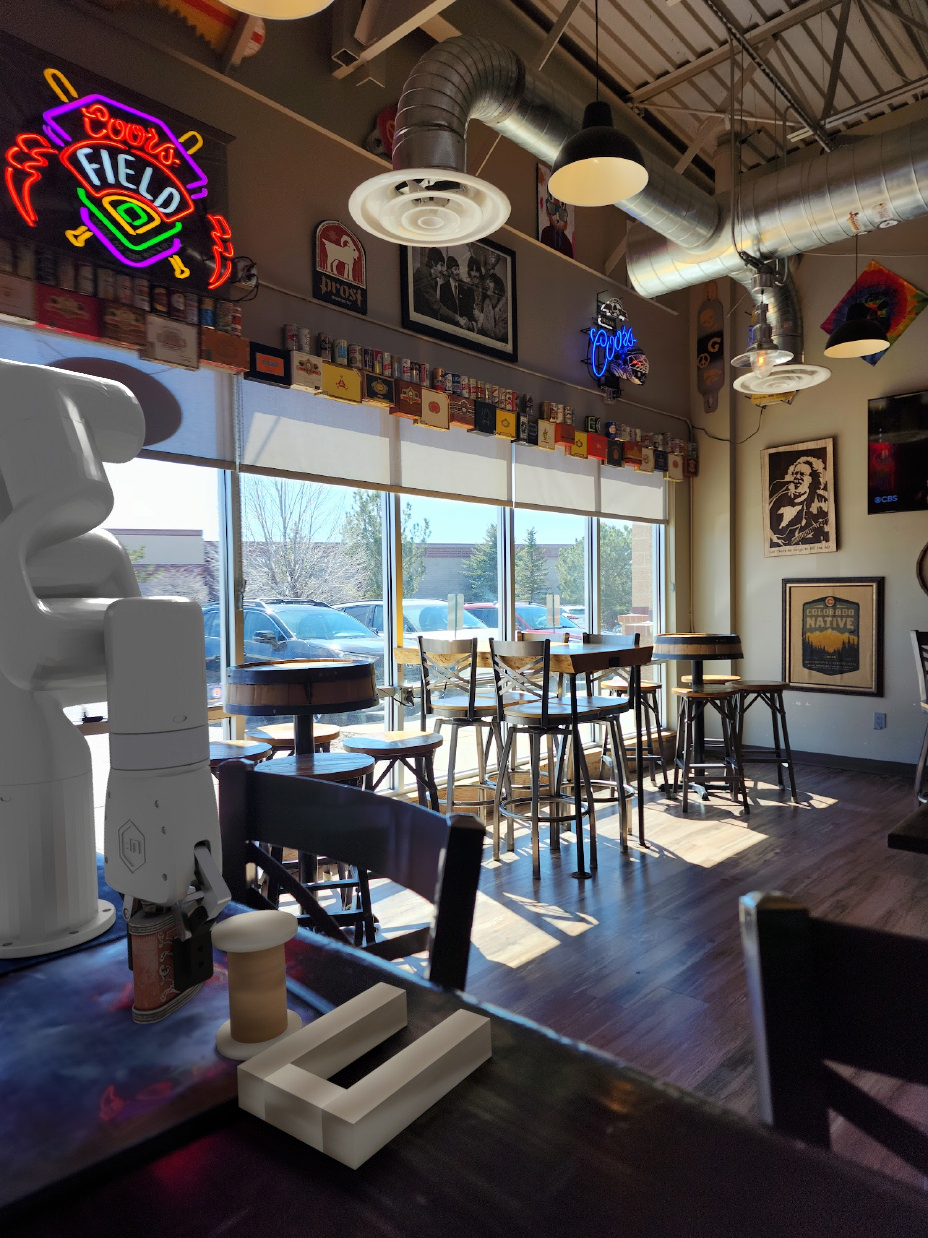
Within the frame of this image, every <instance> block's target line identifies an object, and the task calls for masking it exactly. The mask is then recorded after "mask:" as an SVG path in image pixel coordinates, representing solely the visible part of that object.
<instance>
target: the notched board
mask: <svg viewBox="0 0 928 1238" xmlns="http://www.w3.org/2000/svg"><path fill="white" fill-rule="evenodd" d="M407 1002H408V1001H407V990H406V989H403V988H400V987H397V986H394V985H392V984H388V983H385V982H382V981H380V982H378V983H376V984H375V985H373V986H372V987H370V988H369V989H366V990H365V991H363V992H361V993H360V994H358V995H356V996H354V997H353V998H351V999H349V1000H348V1001H346V1002H345V1003H343V1004H341V1005H339V1006H338V1007H336V1008H334V1009H332V1010H330V1011H329V1012H327V1013H326V1014H324V1015H322V1016H321V1017H319V1018H317V1019H315V1020H314V1021H312V1022H310V1023H308V1024H307V1025H306V1026H302V1029H300V1030H298V1031H297V1032H295V1033H293V1034H291V1035H290V1036H288V1037H286V1038H285V1039H283V1040H281V1041H280V1042H278V1043H276V1044H274V1045H273V1046H271V1047H269V1048H268V1049H266V1050H264V1051H263V1052H261V1053H259V1054H257V1055H256V1056H254V1057H252V1058H251V1059H249V1060H245V1061H244V1062H242V1063H240V1064H239V1065H237V1066H236V1068H237V1069H236V1070H237V1072H236V1073H237V1091H238V1092H237V1094H238V1107H239V1108H240V1109H242V1110H244V1111H246V1112H247V1113H249V1114H251V1115H253V1116H256V1117H257V1118H259V1119H261V1120H263V1121H264V1122H266V1123H268V1124H270V1125H272V1126H274V1127H275V1128H277V1129H279V1130H281V1131H283V1132H285V1133H286V1134H289V1135H291V1136H292V1137H294V1138H296V1139H297V1140H299V1141H301V1142H304V1143H305V1144H307V1145H309V1146H310V1147H312V1148H314V1149H316V1150H318V1151H319V1152H322V1153H323V1154H325V1155H327V1156H329V1157H331V1158H332V1159H334V1160H336V1161H338V1162H340V1163H342V1164H343V1165H345V1166H347V1167H349V1168H351V1169H353V1170H354V1171H355V1170H357V1169H358V1168H359V1167H361V1166H362V1165H363V1164H364V1163H365V1162H366V1161H368V1160H369V1159H370V1158H371V1157H373V1155H375V1154H376V1153H377V1152H378V1151H380V1150H381V1149H382V1148H384V1146H386V1145H387V1144H388V1143H389V1142H390V1141H392V1140H393V1139H394V1138H395V1137H396V1136H397V1135H399V1134H400V1133H401V1132H403V1130H404V1129H406V1128H407V1127H408V1126H409V1125H411V1124H412V1123H413V1122H415V1120H417V1118H419V1117H420V1116H421V1115H423V1114H424V1113H425V1112H426V1111H427V1110H428V1109H430V1108H431V1107H432V1106H433V1105H435V1103H437V1102H438V1101H440V1100H441V1099H442V1098H443V1097H444V1096H445V1095H447V1094H448V1093H449V1092H450V1091H451V1090H452V1089H454V1088H455V1087H456V1086H458V1084H459V1083H461V1082H462V1081H463V1080H464V1079H465V1078H467V1077H468V1076H469V1075H470V1074H471V1073H473V1072H474V1071H476V1069H477V1068H479V1067H480V1066H481V1065H482V1064H483V1063H484V1062H486V1061H487V1060H488V1059H490V1058H491V1057H492V1056H493V1055H492V1053H493V1052H492V1051H493V1050H492V1032H491V1029H492V1028H491V1018H489V1017H486V1016H483V1015H480V1014H477V1013H475V1012H472V1011H469V1010H466V1009H462V1008H460V1009H458V1010H457V1011H455V1012H453V1014H451V1015H450V1016H448V1017H447V1018H446V1019H444V1020H443V1021H441V1022H440V1023H438V1024H437V1025H436V1026H434V1027H432V1028H431V1029H430V1030H428V1031H427V1032H426V1033H424V1034H423V1035H422V1036H419V1038H418V1039H416V1040H414V1041H413V1042H411V1044H409V1045H408V1046H406V1047H405V1048H403V1049H402V1050H401V1051H399V1052H398V1053H397V1054H395V1055H394V1056H392V1057H390V1058H389V1059H388V1060H387V1061H385V1062H384V1063H382V1064H381V1065H380V1066H378V1067H377V1068H375V1069H374V1070H372V1071H371V1072H370V1073H368V1074H367V1075H366V1076H364V1077H362V1078H361V1079H360V1080H359V1081H357V1082H356V1083H354V1084H353V1085H351V1086H350V1087H349V1088H347V1089H346V1088H344V1087H341V1086H339V1085H337V1084H335V1083H334V1082H333V1083H332V1082H330V1081H329V1080H328V1079H329V1078H331V1077H332V1076H334V1075H335V1074H336V1073H338V1072H340V1071H341V1070H342V1069H344V1068H346V1067H347V1066H349V1065H350V1064H351V1063H354V1061H356V1060H357V1059H359V1058H361V1056H363V1055H365V1054H366V1053H367V1052H369V1051H371V1050H372V1049H373V1048H375V1047H376V1046H378V1045H380V1044H381V1043H383V1042H384V1041H385V1040H387V1039H388V1038H390V1037H391V1036H393V1035H394V1034H396V1033H397V1032H398V1031H400V1030H401V1029H403V1028H404V1027H406V1026H407V1025H408V1008H407V1007H408V1005H407V1004H408V1003H407Z"/></svg>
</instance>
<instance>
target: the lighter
mask: <svg viewBox="0 0 928 1238" xmlns="http://www.w3.org/2000/svg"><path fill="white" fill-rule="evenodd" d="M192 892H195V887H189V890H188V892H187V894H189V893H192ZM141 903H143V909H142V910H140V911H139V912H137V913H136V914H135V915H134V916H133V917H132V918H131V919H130V920H129V921H127V923H128V927H129V933H131V934H132V955H133V971H132V972H133V976H132V977H133V994H134V1003H133V1004H132V1007H131V1015H132V1020H133V1022H135V1023H137V1024H152V1023H156V1022H159V1021H162V1020H164V1019H165V1018H167V1017H168V1016H170V1015H171V1014H173V1013H174V1012H176V1011H177V1010H178V1009H180V1008H181V1007H182V1006H184V1005H185V1004H186V1003H187V1002H189V1001H190V1000H191V999H192V998H193V997H194V996H195V995H197V993H198V992H199V991H200V990H201V988H203V986H204V984H205V983H206V982H207V980H206V981H204V982H202V983H200V984H198V985H196V986H194V987H191V988H189V989H187V990H185V991H183V992H179V991H177V990H175V989H174V975H173V953H172V940H173V939H176V938H178V936H177V932H176V928H175V923H174V919H173V915H172V911H171V907H170V906H167V907H165V906H160V905H156V904H153V903H150V902H148V901H145V900H143V899H141ZM185 906H186V910H187V914H188V918H189V917H190V915H191V914H192V912H193V911H194V909H195V908H196V907H198V906H197V902H196V900H194V901H191V902H188V903H186V904H185Z"/></svg>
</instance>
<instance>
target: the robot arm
mask: <svg viewBox="0 0 928 1238" xmlns="http://www.w3.org/2000/svg"><path fill="white" fill-rule="evenodd" d="M145 419H146V418H145V414H144V411H143V408H142V407H141V404H140V402H139V400H138V398H137V397H136V395H135V394H134V393H133V391H131V389H130V388H128V387H127V386H126V385H124V384H123V383H121V382H119V381H117V380H112V379H108V378H105V377H104V378H103V377H99V376H94V375H89V374H86V373H85V374H84V373H80V372H74V371H71V370H66V369H62V368H56V367H50V366H47V365H46V366H45V365H42V364H41V365H40V364H34V363H33V364H29V363H25V362H24V363H23V362H19V361H14V360H9V359H4V358H0V959H18V958H29V957H35V956H41V955H45V954H50V953H54V952H59V951H61V950H62V951H63V950H65V949H69V948H71V947H74V946H77V945H80V944H81V945H82V943H85V942H87V941H91V940H92V939H94V938H96V937H98V936H99V935H101V934H103V933H104V932H106V931H108V929H110V928H111V927H112V926H113V924H114V923H115V921H116V919H117V917H116V913H117V912H116V907H115V905H114V904H113V903H111V902H109V901H107V900H105V899H100V898H99V886H98V866H97V865H98V864H97V862H98V861H97V845H96V844H97V843H96V824H95V823H96V822H95V821H96V820H95V800H94V799H95V798H94V780H93V778H94V775H93V761H92V760H93V759H92V752H91V747H90V745H89V743H88V740H87V739H86V737H85V735H84V734H83V732H81V731H80V729H79V728H78V727H77V726H76V725H75V724H74V723H73V722H72V720H71V719H70V718H69V717H68V716H67V715H66V713H65V712H64V709H65V708H69V707H75V706H79V705H80V706H82V705H83V706H84V705H90V704H97V703H99V704H100V703H107V704H106V706H107V707H106V708H107V726H108V728H107V729H108V750H109V753H108V754H109V771H108V778H107V783H106V792H105V802H104V817H103V818H104V821H103V868H104V873H103V874H104V881H105V882H106V884H107V885H108V887H109V888H110V889H112V890H114V891H116V892H117V893H118V895H119V896H120V899H121V901H122V903H123V905H122V912H121V913H122V917H123V919H124V921H126V943H127V945H126V946H127V965H128V970H129V971H130V972H133V955H132V934H131V933H129V927H128V921H129V920H130V919H131V918H132V917H133V916H134V915H135V914H136V913H137V912H139V911H140V910H142V909H143V903H141V899H143V900H145V901H148V902H150V903H153V904H156V905H160V906H165V907H167V906H170V907H171V911H172V915H173V919H174V923H175V928H176V932H177V936H178V938H176V939H173V940H172V953H173V975H174V989H175V990H177V991H179V992H183V991H185V990H187V989H189V988H191V987H194V986H196V985H198V984H200V983H202V982H204V981H206V982H207V981H209V980H211V979H212V977H213V976H214V973H215V972H214V951H213V948H214V946H213V944H212V938H211V931H212V929H213V928H214V927H215V926H216V925H217V920H218V919H219V918H220V916H221V914H222V911H223V910H224V909H225V907H226V906H227V905H228V904H229V903H230V901H231V900H232V893H231V891H230V889H229V887H228V885H227V882H225V880H224V878H223V876H222V875H223V851H222V849H223V848H222V837H221V827H220V826H221V825H220V818H219V817H220V816H219V808H218V802H217V795H216V790H215V785H214V783H215V782H214V778H213V774H212V770H211V766H210V765H211V749H210V748H211V746H210V725H209V705H208V686H207V685H208V683H207V662H206V658H207V657H206V656H207V655H206V637H205V632H206V631H205V617H204V611H203V609H202V607H201V606H202V605H201V604H200V603H199V602H198V601H197V600H195V599H194V598H191V597H188V596H182V595H181V596H180V595H159V596H158V595H153V596H143V595H142V591H141V589H140V585H139V583H138V580H137V576H136V574H135V570H134V566H133V564H132V561H131V559H130V556H129V553H128V552H127V549H126V547H125V546H124V544H123V543H122V542H121V541H120V540H119V538H118V537H117V536H115V535H114V534H113V533H112V532H110V531H108V530H107V529H104V528H101V527H99V526H101V525H102V524H103V523H104V522H105V521H106V520H107V519H108V517H109V516H110V515H111V513H112V511H113V509H114V507H115V506H114V505H115V496H114V490H113V487H112V485H111V483H110V481H109V478H108V475H107V472H106V469H105V466H104V464H103V463H108V464H116V465H118V464H125V463H128V462H131V461H132V460H134V459H135V458H136V457H137V456H138V455H139V453H140V452H141V450H142V448H143V446H144V443H145V438H146V420H145ZM189 888H195V892H192V893H189V894H187V892H188V890H189ZM194 900H196V902H197V906H198V907H196V908H195V909H194V911H193V912H192V914H191V915H190V917H189V918H188V914H187V910H186V906H185V904H186V903H188V902H191V901H194Z"/></svg>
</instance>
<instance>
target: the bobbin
mask: <svg viewBox="0 0 928 1238" xmlns="http://www.w3.org/2000/svg"><path fill="white" fill-rule="evenodd" d="M297 918H298V917H296V915H294V914H292V913H291V912H288V911H284V910H283V911H282V910H278V909H277V910H276V909H272V910H271V909H265V910H255V911H254V910H253V911H248V912H244V913H238V914H236V915H233V916H230V917H227V918H226V919H223V920H220V922H218V923H216V926H215V927H214V928H213V929H212V931H211V938H212V946H213V948H216V949H217V950H220V951H223V952H224V951H225V952H226V960H227V961H226V962H227V963H226V964H227V981H228V982H227V984H228V1004H229V1006H228V1009H229V1019H227V1020H226V1021H224V1023H223V1024H221V1025H220V1026H219V1028H218V1029H217V1031H216V1034H215V1045H216V1046H215V1047H216V1050H217V1052H218V1053H219V1054H220V1055H222V1057H225V1058H228V1059H230V1060H236V1061H247V1060H249V1059H251V1058H252V1057H254V1056H256V1055H257V1054H259V1053H261V1052H263V1051H264V1050H266V1049H268V1048H269V1047H271V1046H273V1045H274V1044H276V1043H278V1042H280V1041H281V1040H283V1039H285V1038H286V1037H288V1036H290V1035H291V1034H293V1033H295V1032H297V1031H298V1030H300V1029H302V1028H303V1020H302V1017H301V1016H300V1015H299V1014H298V1013H297V1012H296V1011H293V1010H292V1009H289V1008H288V999H287V998H288V997H287V973H286V953H285V951H286V950H285V949H286V948H285V943H286V942H288V941H290V940H291V939H292V938H294V937H295V935H297V933H298V932H299V931H298V930H299V928H298V927H299V926H298V919H297Z"/></svg>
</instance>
